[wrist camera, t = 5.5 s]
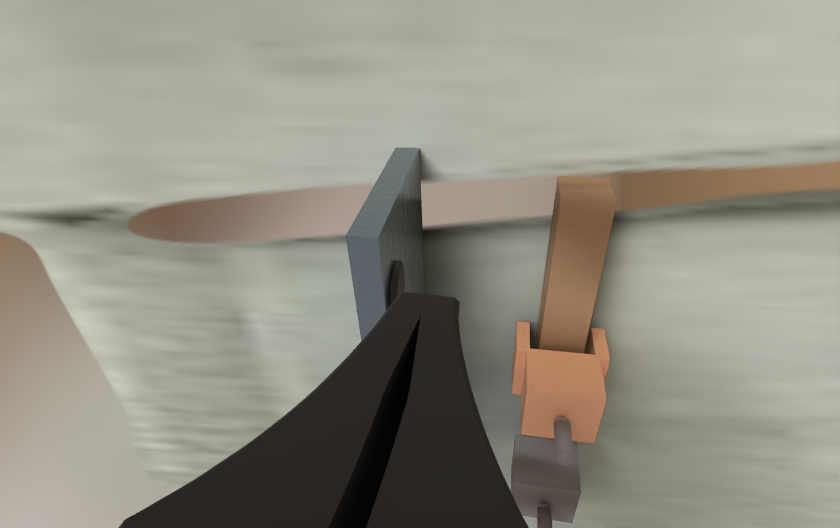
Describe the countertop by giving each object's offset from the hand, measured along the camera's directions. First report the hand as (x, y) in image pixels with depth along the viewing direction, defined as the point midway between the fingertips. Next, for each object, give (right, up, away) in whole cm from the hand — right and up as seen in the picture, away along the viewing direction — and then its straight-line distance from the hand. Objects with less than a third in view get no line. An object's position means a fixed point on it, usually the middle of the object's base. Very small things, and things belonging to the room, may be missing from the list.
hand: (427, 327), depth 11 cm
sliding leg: (+7, -2, +13) cm, 15 cm away
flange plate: (0, -1, +14) cm, 14 cm away
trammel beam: (+7, -2, +13) cm, 15 cm away
